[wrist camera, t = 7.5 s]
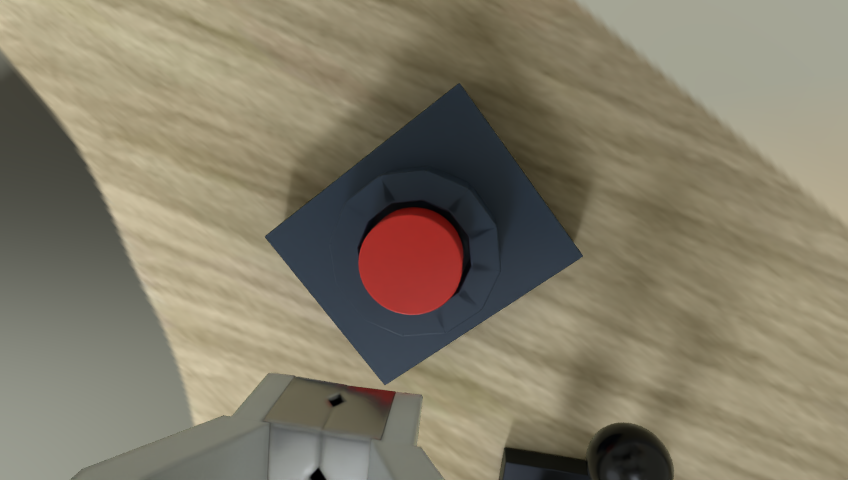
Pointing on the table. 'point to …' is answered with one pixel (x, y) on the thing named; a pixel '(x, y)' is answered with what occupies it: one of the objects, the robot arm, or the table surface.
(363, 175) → the button block
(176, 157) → the table surface
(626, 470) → the switch lever
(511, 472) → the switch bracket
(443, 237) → the button
